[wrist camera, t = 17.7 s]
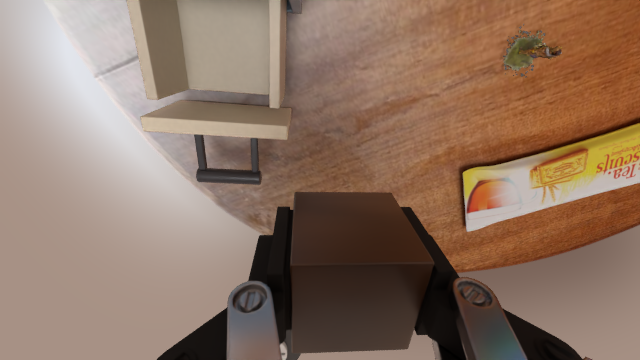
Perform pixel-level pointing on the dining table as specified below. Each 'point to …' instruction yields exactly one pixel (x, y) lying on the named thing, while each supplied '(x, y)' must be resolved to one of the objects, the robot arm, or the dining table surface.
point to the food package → (552, 177)
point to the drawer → (214, 71)
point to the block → (354, 273)
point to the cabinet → (294, 6)
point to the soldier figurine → (528, 52)
